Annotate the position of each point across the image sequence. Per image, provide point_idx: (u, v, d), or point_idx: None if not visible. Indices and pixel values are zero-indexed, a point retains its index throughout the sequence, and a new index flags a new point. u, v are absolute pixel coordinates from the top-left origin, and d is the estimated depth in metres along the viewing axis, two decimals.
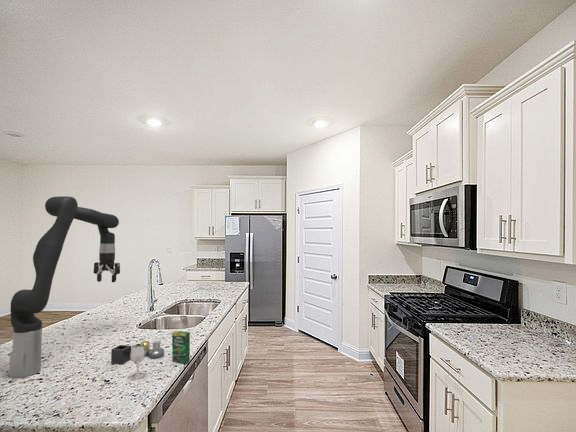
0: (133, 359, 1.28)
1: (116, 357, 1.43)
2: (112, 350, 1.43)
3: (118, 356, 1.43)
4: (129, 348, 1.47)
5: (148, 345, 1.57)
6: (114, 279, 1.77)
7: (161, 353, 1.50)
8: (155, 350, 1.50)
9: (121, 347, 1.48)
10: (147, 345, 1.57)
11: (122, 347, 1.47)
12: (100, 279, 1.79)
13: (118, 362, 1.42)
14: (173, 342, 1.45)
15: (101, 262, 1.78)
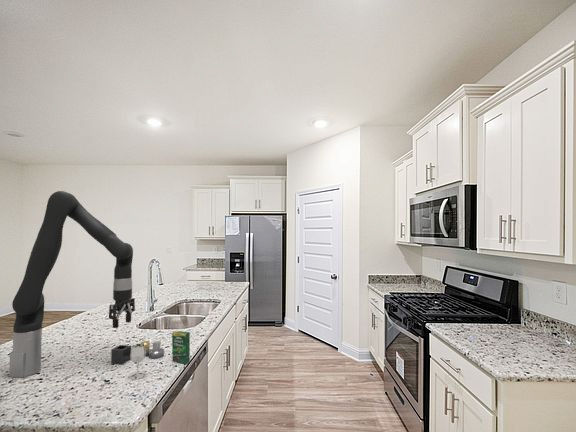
0: (133, 359, 1.28)
1: (116, 357, 1.43)
2: (112, 350, 1.43)
3: (118, 356, 1.43)
4: (129, 348, 1.47)
5: (148, 345, 1.57)
6: None
7: (161, 353, 1.50)
8: (155, 350, 1.50)
9: (121, 347, 1.48)
10: (147, 345, 1.57)
11: (122, 347, 1.47)
12: None
13: (118, 362, 1.42)
14: (173, 342, 1.45)
15: (121, 302, 1.44)
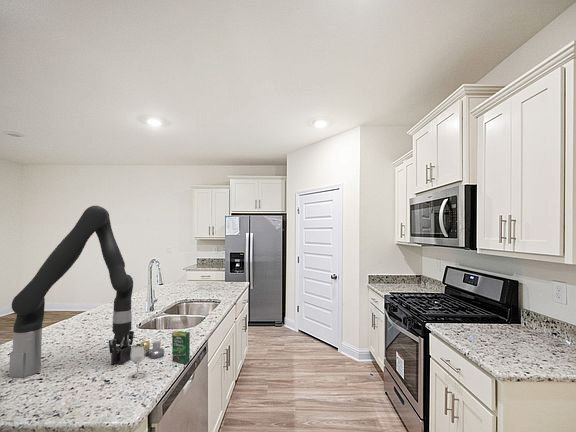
0: (133, 359, 1.28)
1: None
2: None
3: None
4: (129, 348, 1.46)
5: (148, 345, 1.57)
6: None
7: (161, 353, 1.50)
8: (155, 350, 1.50)
9: None
10: (147, 345, 1.57)
11: (122, 347, 1.47)
12: None
13: (118, 362, 1.42)
14: (173, 342, 1.45)
15: (120, 335, 1.43)
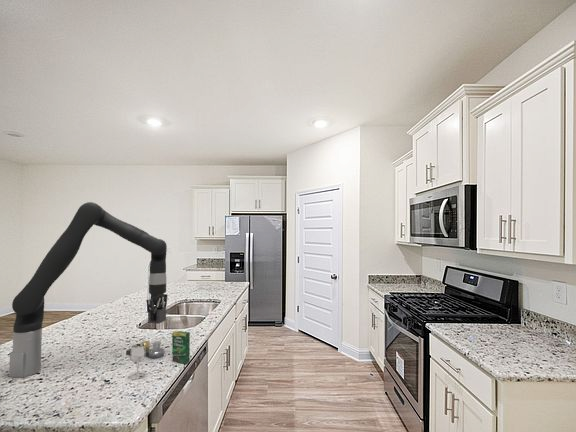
0: (133, 359, 1.28)
1: None
2: None
3: None
4: (164, 309, 1.53)
5: (148, 345, 1.57)
6: None
7: (161, 353, 1.50)
8: (155, 350, 1.50)
9: None
10: (147, 345, 1.57)
11: (157, 308, 1.54)
12: None
13: (155, 321, 1.49)
14: (173, 342, 1.45)
15: (156, 296, 1.49)
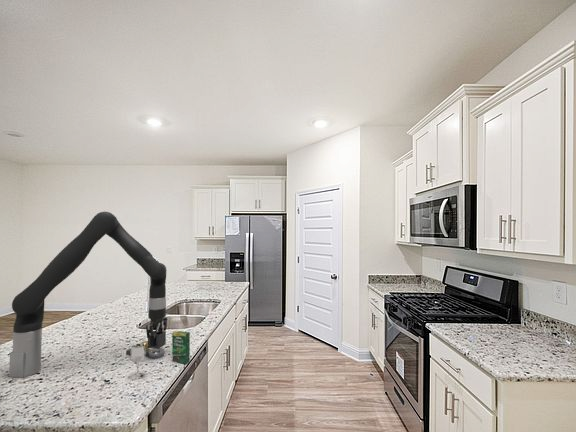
0: (133, 359, 1.28)
1: None
2: None
3: None
4: (164, 333, 1.53)
5: None
6: None
7: (161, 353, 1.50)
8: (155, 350, 1.50)
9: (156, 333, 1.54)
10: (147, 345, 1.57)
11: (157, 333, 1.54)
12: None
13: (154, 347, 1.48)
14: (173, 342, 1.45)
15: (155, 320, 1.49)
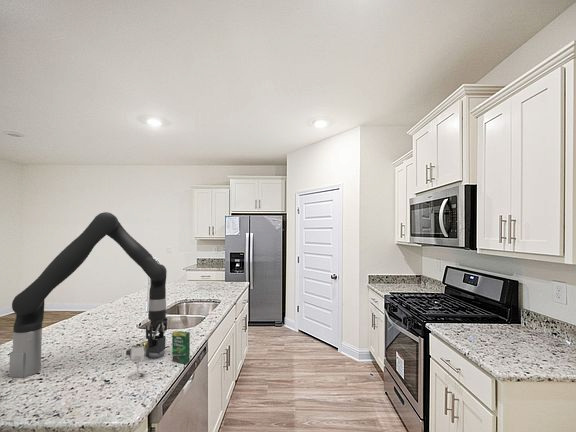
0: (133, 359, 1.28)
1: None
2: (148, 340, 1.49)
3: None
4: (164, 338, 1.52)
5: None
6: None
7: (161, 353, 1.50)
8: None
9: (156, 337, 1.53)
10: None
11: (157, 337, 1.53)
12: None
13: (154, 351, 1.48)
14: (173, 342, 1.45)
15: (156, 322, 1.49)
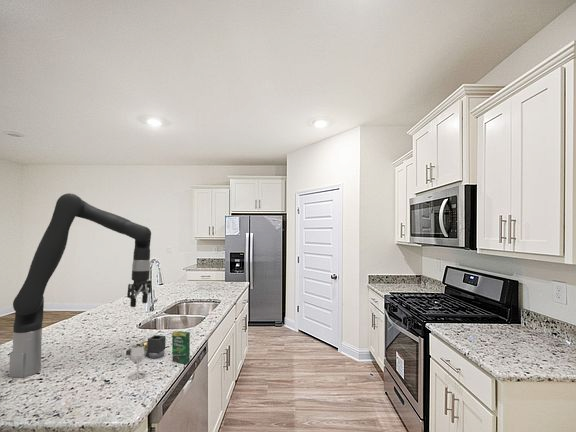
0: (133, 359, 1.28)
1: (152, 346, 1.49)
2: (148, 340, 1.49)
3: (153, 345, 1.49)
4: (164, 338, 1.52)
5: None
6: None
7: (161, 353, 1.50)
8: None
9: (156, 337, 1.53)
10: None
11: (157, 337, 1.53)
12: None
13: (154, 351, 1.48)
14: (173, 342, 1.45)
15: (139, 282, 1.50)
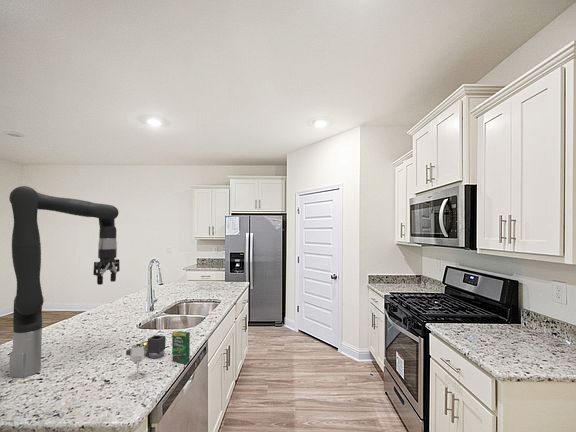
0: (133, 359, 1.28)
1: (152, 346, 1.49)
2: (148, 340, 1.49)
3: (153, 345, 1.49)
4: (164, 338, 1.52)
5: None
6: (115, 277, 1.58)
7: (161, 353, 1.50)
8: None
9: (156, 337, 1.53)
10: None
11: (157, 337, 1.53)
12: None
13: (154, 351, 1.48)
14: (173, 342, 1.45)
15: (105, 260, 1.51)
